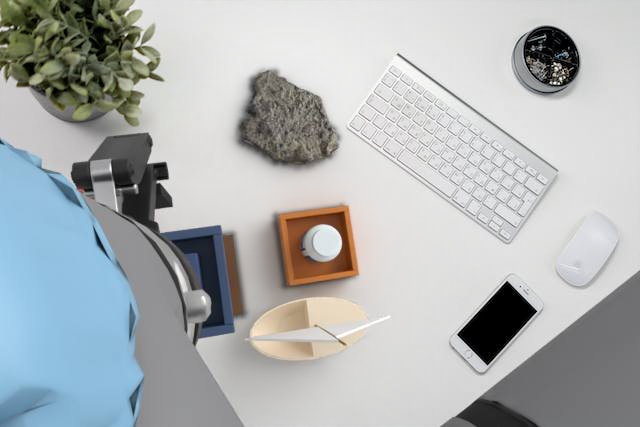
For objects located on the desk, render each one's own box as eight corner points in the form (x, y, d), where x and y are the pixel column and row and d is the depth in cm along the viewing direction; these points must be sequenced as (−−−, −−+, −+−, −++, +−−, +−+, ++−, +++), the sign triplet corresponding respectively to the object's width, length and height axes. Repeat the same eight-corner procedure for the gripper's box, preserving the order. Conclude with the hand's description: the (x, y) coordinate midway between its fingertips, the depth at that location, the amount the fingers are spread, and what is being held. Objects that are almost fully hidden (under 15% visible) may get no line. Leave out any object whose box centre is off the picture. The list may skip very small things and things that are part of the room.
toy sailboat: (253, 406, 55) (243, 321, 55) (247, 364, 79) (240, 305, 80) (442, 372, 58) (430, 292, 59) (380, 342, 83) (372, 286, 84)
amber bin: (353, 274, 83) (359, 274, 79) (286, 285, 81) (289, 285, 77) (343, 208, 84) (348, 205, 80) (277, 217, 82) (279, 214, 78)
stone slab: (316, 185, 84) (320, 182, 81) (223, 131, 82) (223, 126, 79) (352, 120, 86) (357, 115, 83) (262, 67, 85) (264, 59, 82)
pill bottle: (339, 250, 83) (353, 247, 73) (311, 269, 82) (322, 269, 72) (320, 221, 83) (332, 214, 73) (292, 240, 82) (300, 236, 72)
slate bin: (243, 313, 80) (250, 344, 46) (161, 327, 78) (108, 369, 44) (232, 235, 81) (232, 209, 47) (151, 246, 79) (91, 228, 45)
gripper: (244, 671, 18) (238, 456, 39) (155, -28, 20) (195, 125, 41) (4, 739, 17) (132, 479, 37) (-64, -17, 19) (93, 136, 39)
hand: (165, 294), depth 39 cm, fingers open, 13 cm apart
